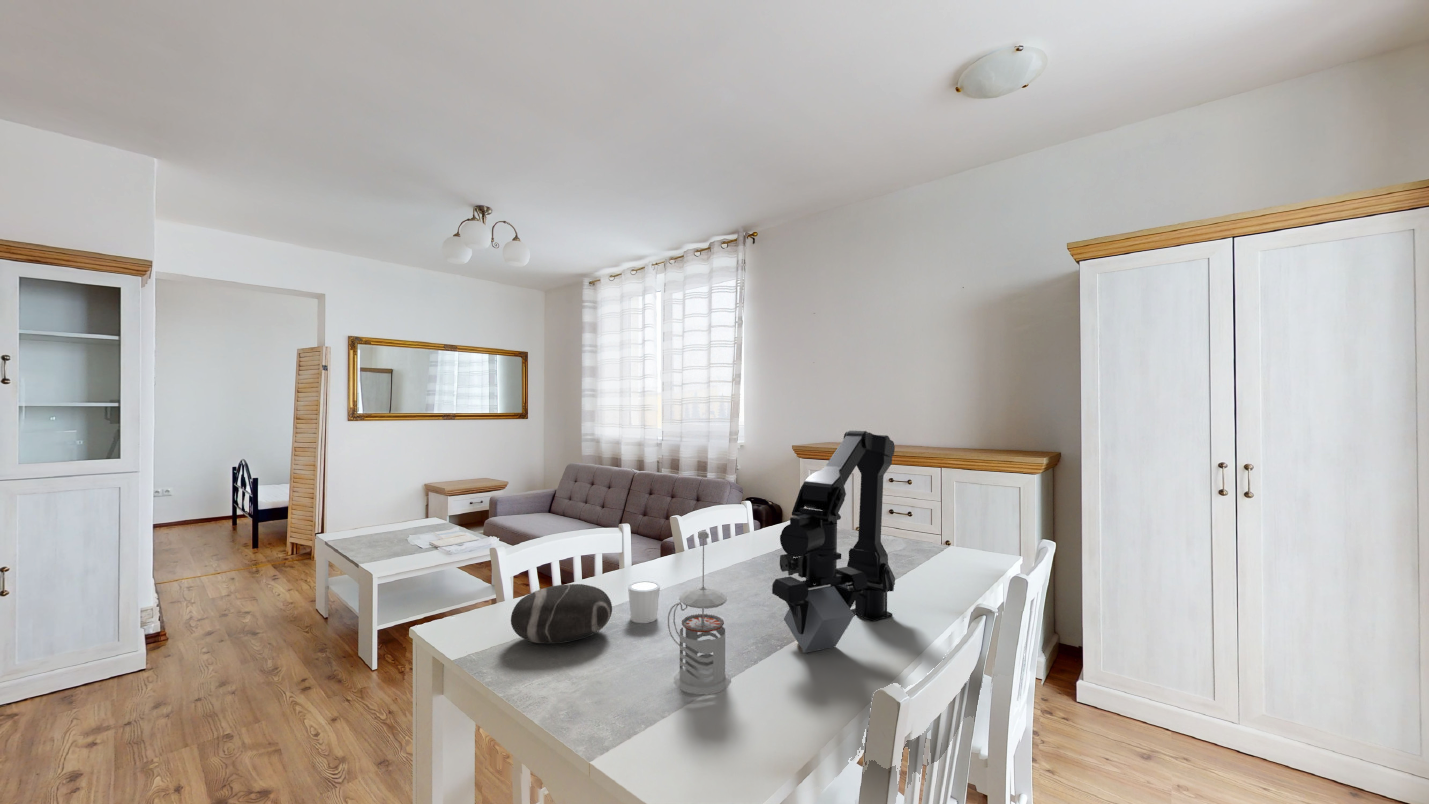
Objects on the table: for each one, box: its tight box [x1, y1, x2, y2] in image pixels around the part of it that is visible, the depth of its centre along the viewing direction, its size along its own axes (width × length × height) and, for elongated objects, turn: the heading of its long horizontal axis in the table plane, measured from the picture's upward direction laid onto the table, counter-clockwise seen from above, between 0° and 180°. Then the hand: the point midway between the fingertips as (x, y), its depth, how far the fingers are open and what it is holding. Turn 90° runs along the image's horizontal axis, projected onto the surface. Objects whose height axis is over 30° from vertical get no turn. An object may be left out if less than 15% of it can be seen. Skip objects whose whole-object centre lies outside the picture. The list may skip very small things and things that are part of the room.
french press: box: [667, 530, 732, 695], centre depth 95 cm, size 10×12×25 cm
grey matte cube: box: [783, 586, 855, 653], centre depth 107 cm, size 8×8×9 cm
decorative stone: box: [510, 583, 613, 644], centre depth 111 cm, size 19×14×10 cm
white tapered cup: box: [627, 580, 661, 624], centre depth 121 cm, size 7×7×7 cm
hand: (820, 629), depth 105 cm, fingers open, 9 cm apart
